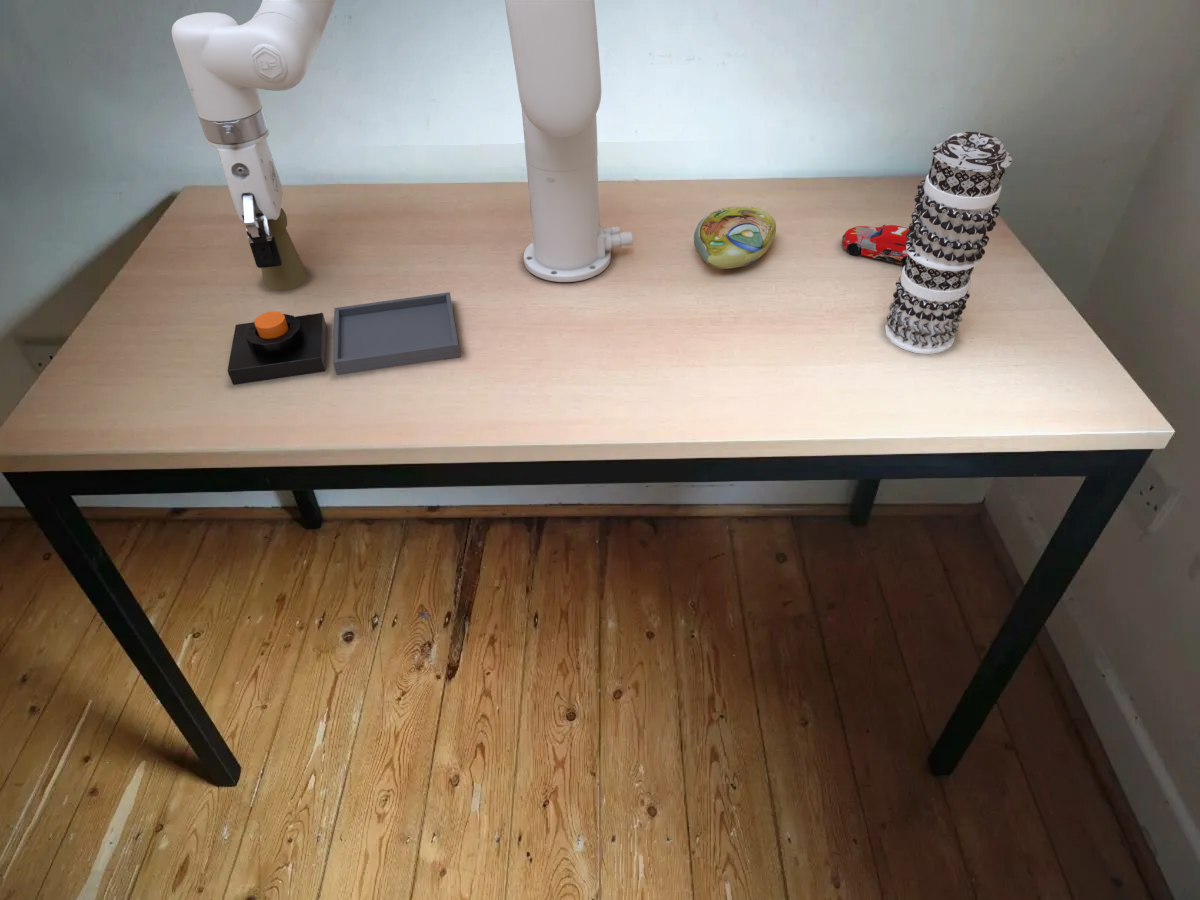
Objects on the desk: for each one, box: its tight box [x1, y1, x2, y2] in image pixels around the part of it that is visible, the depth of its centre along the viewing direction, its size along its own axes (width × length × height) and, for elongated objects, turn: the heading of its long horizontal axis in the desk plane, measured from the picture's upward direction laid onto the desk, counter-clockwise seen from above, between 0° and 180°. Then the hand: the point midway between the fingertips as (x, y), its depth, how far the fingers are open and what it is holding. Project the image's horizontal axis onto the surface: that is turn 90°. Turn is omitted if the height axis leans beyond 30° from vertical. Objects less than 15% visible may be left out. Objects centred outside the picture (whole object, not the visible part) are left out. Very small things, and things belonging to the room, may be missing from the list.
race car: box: [841, 224, 911, 267], centre depth 119 cm, size 13×5×4 cm, turn 60°
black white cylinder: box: [884, 131, 1013, 355], centre depth 97 cm, size 9×9×25 cm
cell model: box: [693, 206, 777, 270], centre depth 119 cm, size 11×8×15 cm
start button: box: [254, 311, 289, 339], centre depth 103 cm, size 4×4×2 cm
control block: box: [226, 312, 328, 386], centre depth 104 cm, size 11×10×4 cm
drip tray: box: [332, 291, 461, 376], centre depth 107 cm, size 15×12×2 cm
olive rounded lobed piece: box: [256, 207, 309, 292], centre depth 115 cm, size 6×6×11 cm
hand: (272, 247), depth 115 cm, fingers open, 9 cm apart
